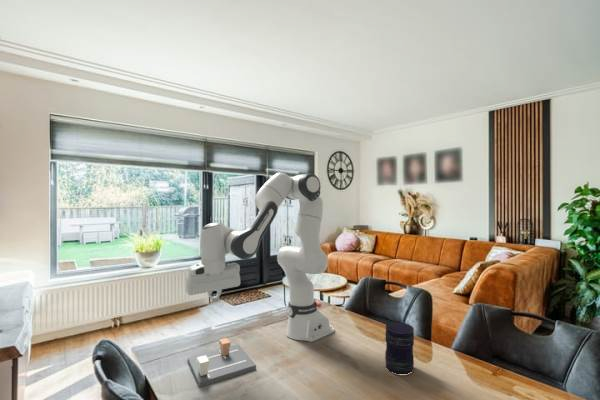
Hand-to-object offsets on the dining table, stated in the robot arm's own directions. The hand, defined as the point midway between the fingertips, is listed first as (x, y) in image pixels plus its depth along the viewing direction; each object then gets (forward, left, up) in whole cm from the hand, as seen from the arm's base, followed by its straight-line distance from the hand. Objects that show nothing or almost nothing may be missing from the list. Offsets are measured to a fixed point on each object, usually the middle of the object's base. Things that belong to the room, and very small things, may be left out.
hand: (214, 301), depth 119 cm
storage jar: (-56, +41, -22) cm, 72 cm away
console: (-1, +6, -22) cm, 23 cm away
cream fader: (+7, +10, -20) cm, 24 cm away
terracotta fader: (-3, +1, -20) cm, 20 cm away
